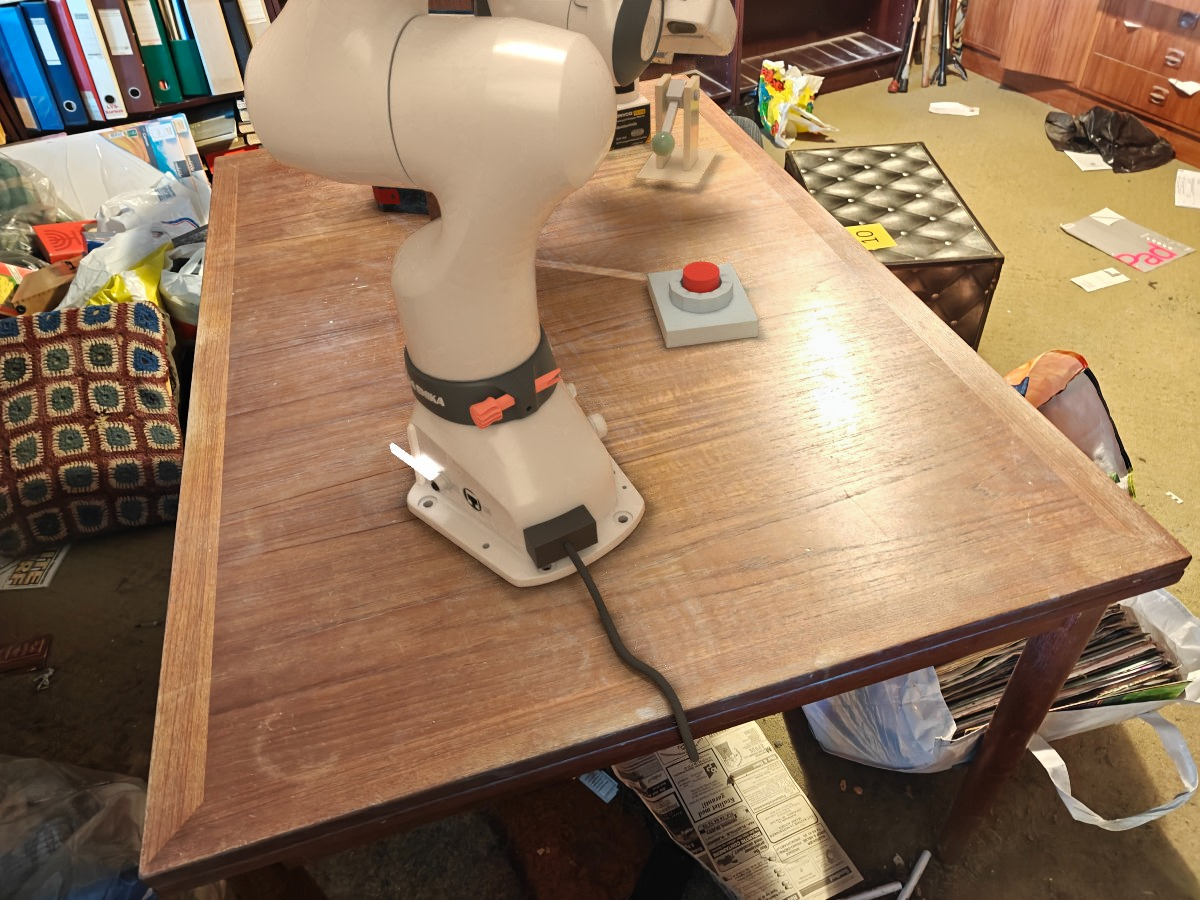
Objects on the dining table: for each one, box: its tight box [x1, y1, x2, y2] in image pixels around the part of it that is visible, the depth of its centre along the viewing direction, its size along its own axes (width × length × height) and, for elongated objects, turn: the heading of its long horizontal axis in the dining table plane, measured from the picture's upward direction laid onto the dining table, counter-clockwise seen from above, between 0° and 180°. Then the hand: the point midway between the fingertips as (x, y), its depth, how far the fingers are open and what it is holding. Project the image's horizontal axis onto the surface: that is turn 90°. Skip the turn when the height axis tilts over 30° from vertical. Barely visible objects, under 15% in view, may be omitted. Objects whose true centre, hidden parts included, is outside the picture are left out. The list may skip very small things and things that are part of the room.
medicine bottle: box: [609, 76, 652, 152], centre depth 127 cm, size 7×7×12 cm
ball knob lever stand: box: [635, 73, 718, 185], centre depth 119 cm, size 11×9×13 cm
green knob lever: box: [650, 78, 688, 157], centre depth 115 cm, size 11×3×3 cm
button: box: [682, 260, 720, 293], centre depth 94 cm, size 4×4×2 cm
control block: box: [646, 262, 760, 349], centre depth 95 cm, size 12×10×4 cm
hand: (661, 57), depth 107 cm, fingers closed
